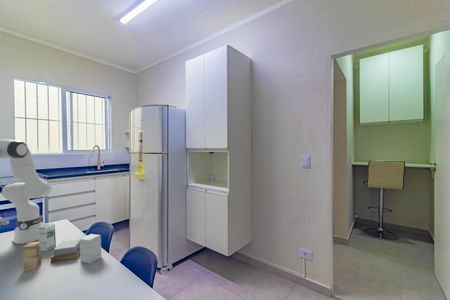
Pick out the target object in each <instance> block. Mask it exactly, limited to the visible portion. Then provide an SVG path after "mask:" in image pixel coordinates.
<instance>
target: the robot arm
mask: <svg viewBox="0 0 450 300" xmlns="http://www.w3.org/2000/svg"><path fill="white" fill-rule="evenodd" d="M0 158H3V159H9V164H10V169H11V174H12V176H13V177H14V179H17V180H20V181H21V182H15V183H9V184H6V185H5V186H3V188H2V190H1V195H2V197H3V198H4V199H6V200H8V201H9V202H11V203H12V204H13V206H14V207H15V210H16V217H17V220H16V227H15V228H14V233H13V234H14V235H13V236H14V237H13V239H12V240H11V243H12V242H13V243H14V244H16V245H20V244H21V245H22V244H28V243H33V242H37V241H39V232H38V227H41V226H43V225H46V224H47V223H45V222H43V221H42V219H43V218H44V216H43V215H40V206H39V205H38V204H37V203H35V202H32V201H31V200H30V199H39V198H44V197H47V196H49V195H50V194H51V192H52V189H53V188H52V185H51V184H50V183H49V182H47V181H45V180H44V179H42V178H41V176H39V174H38V173H37V170H36V167H35V163H34V161H35V160H34V158H33V154H32V152H31V150H30V149H29V147H28V144H26V142H24V141H21V140H16V139H15V140H13V139H6V138H4V139H1V138H0ZM9 224H10V220H7V219H6V220H4V217H0V226H2V225H3V226H7V225H9Z"/></svg>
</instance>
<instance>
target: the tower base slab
mask: <svg viewBox="0 0 450 300" xmlns="http://www.w3.org/2000/svg"><path fill="white" fill-rule="evenodd" d="M78 257H80V247H79V249H78V250H77V251H76V252H75V253H72V254H65V255H57V256H53V255H51V256H50V264H52V263H61V262H65V261H72V260H77V259H78Z"/></svg>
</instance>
